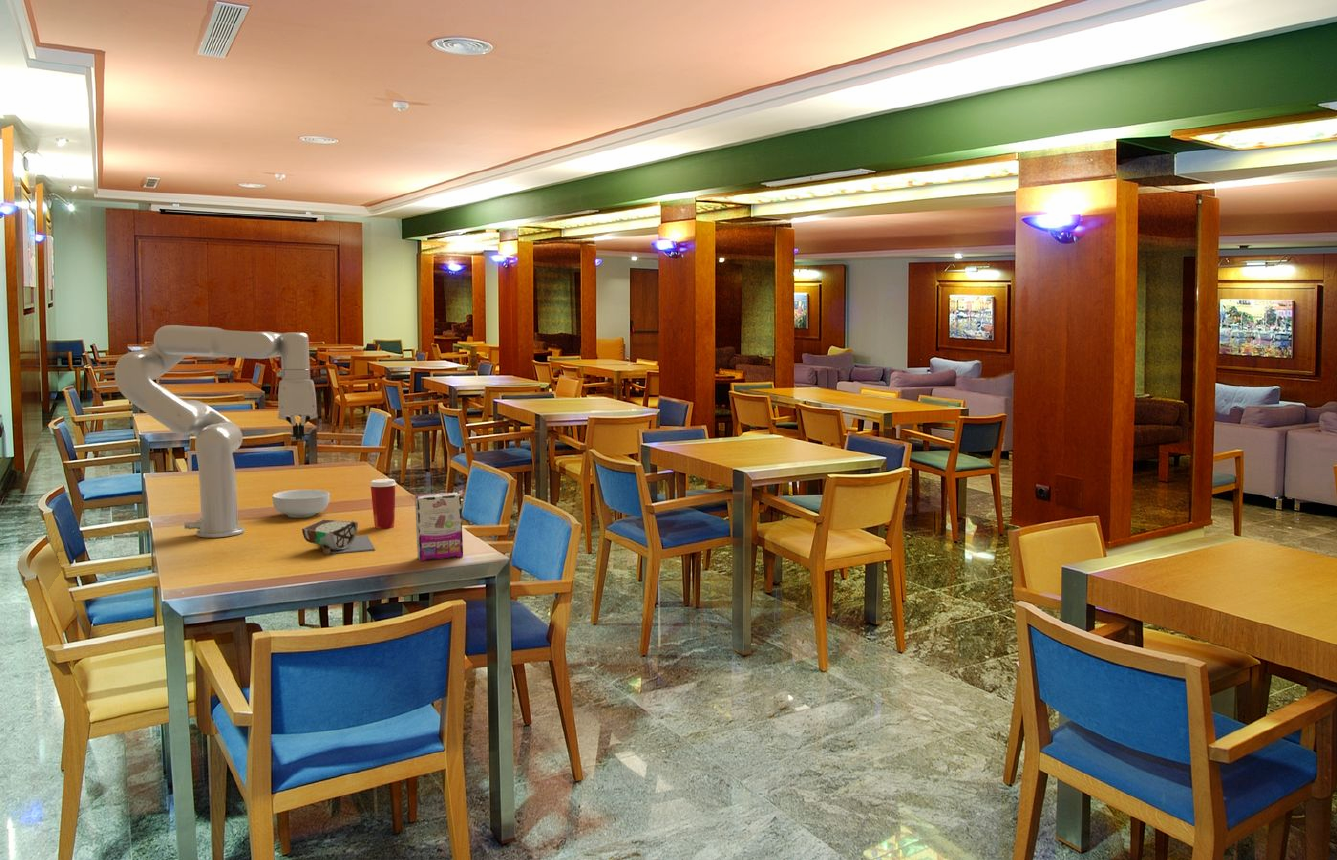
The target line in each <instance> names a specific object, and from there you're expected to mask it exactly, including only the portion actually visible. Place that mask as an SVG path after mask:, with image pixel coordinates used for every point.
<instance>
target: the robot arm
mask: <svg viewBox="0 0 1337 860" xmlns="http://www.w3.org/2000/svg"><path fill="white" fill-rule="evenodd" d="M309 341H310V340H309V335H308V334H307V333H305V332H295V331H293V332H283V333H282V332H275V331H274V332H273V331H244V330H227V329H223V328H220V327H215V326H214V327H213V326H196V325H195V326H193V325H192V326H191V325H181V324H180V325H179V324H174V325H173V324H170V325H169V324H168V325H164V326H161V327H159V328H158V329H157V330H156V332H155V333H154V335H153V343H152V344H151V345H150V346H149V347H148V348H146V349H145V350H139V351H137V350H136V351H131V352H128V353H125V354H124V355H122V356H121V357H120V358H119V359H118V360H117V362H116V364H115V367H114V380H115V384H116V387H117V389H118V391H119V392H120V394H122V396H124V397H125V398H126V399H127V400H128V401H129V402H130V403H132V404H133V405H134V406H136V407H137V408H138V409H140V410H141V411H143V412H145V413H146V414H147V415H149V416H150V417H151V418H152V419H155V420H156V421H157V422H159V423H160V424H162V425H164V426H165V427H166V428H168V429H169V430H170V431H171V432H173V433H175V434H177V435H180V436H181V435H182V436H186V435H193V436H194V437H195V440H194V441H195V442H194V451H195V455H196V460H197V466H198V467H197V468H198V481H199V498H200V519H199V520H197V519H196V521H184V529H187V530H196V529H197V530H196V532H195V534H196V535H195V536H196V537H200V538H205V539H206V538H213V539H214V538H224V537H232V536H237V535H240V534H243V533H244V532H245V527H244V526H242V525H239V516H238V515H239V514H238V513H239V512H238V496H237V495H238V494H237V479H236V478H237V477H236V474H237V473H236V466H235V460H234V455H233V453H234V452H236V451H237V450H238V449H240V447H241V445H242V444H243V440H244V439H243V438H244V437H243V433H242V431H241V428H239V426H237V425H236V423H234V422H233V421H232V420H230V419H229V418H227V417H225V416H224V415H223V414H221V413H220V412H219V411H217V410H215V409H214V408H212V407H211V406H210V405H208V404H206V403H204V402H203V401H200V400H196V399H190V400H189V399H188V400H184V399H182V398H181V397H179V396H178V395H176V394H174V393H172V392H171V391H170V390H169V389H167V388H166V387H164V386H162V385H160V384H158V383H157V382H155V381H154V380H156V379H159V378H161V377H162V376H163V375H165V374H166V373H167V372H169V371H170V370H171V369H173V368H174V367H175V366H176V365H177V364H179V363H180V362H181V361H182V360H183V359H185V358H186V357H201V358H216V359H218V358H233V359H234V358H236V359H257V360H263V359H264V360H265V359H273V358H279V357H280V358H281V359H280V360H281V370H279V371H276V377H278V378H281V380H279V383H278V391H277V392H278V397H277V399H278V403H277V404H278V405H277V406H278V408H277V409H278V415H277V419H278V420H282V421H287V422H288V423H289V424H290V425H291V426H292V436H293V437H295V440H296V441H297V440H301V441H302V440H303V437H305V425H306V424H307V423H308V422H309V421H310V420H314V419H318V416H319V415H318V412H317V411H318V410H317V408H318V407H317V398H316V397H317V395H316V387H315V383H314V380H313V379H311V369H310V368H311V366H310V365H311V363H310V345H309V343H310V342H309ZM296 416H300V421H299V422H298V423H297V421H296Z"/></svg>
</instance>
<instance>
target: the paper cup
mask: <svg viewBox="0 0 1337 860" xmlns="http://www.w3.org/2000/svg"><path fill="white" fill-rule="evenodd" d="M396 485H397V482H396V480H395V479H393V478H377V479H372V480H371V481H370V484H369V487H370V492H371V503H372V513H373V521H374V522H373V523H374V524H373V525H374V528H375V529H379V530H382V529H385V530H386V529H392V528H394V527H395V519H396V516H395V515H396V513H395V512H396Z"/></svg>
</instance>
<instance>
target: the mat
mask: <svg viewBox="0 0 1337 860" xmlns="http://www.w3.org/2000/svg"><path fill="white" fill-rule="evenodd" d="M371 551H376V548H375V547H374V545H373V542H372V541H371V540H370V538H369V536H368V535H361V536H355V539H354V541H353V542H352V544H351V545H350V546H349V547H347V548H345V549H343V550H333V549H331V548H330V555H337V554H338V555H339V554H348V553H349V554H351V553H358V552H359V553H361V552H371Z"/></svg>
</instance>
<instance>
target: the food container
mask: <svg viewBox="0 0 1337 860" xmlns="http://www.w3.org/2000/svg"><path fill="white" fill-rule="evenodd" d="M358 525H359V522H358V521H353V520H351V521H348V520H346V521H345V520H336V519H321V520H319V521H317V522H313V523H312V524H310V525H308V526H306V527H303V528H301V531H302V535H303V538H304V540H305V541H306V542H307V543H310V544H315V545H320V546H321V545H324V546H329V547H330V548H331V549H333V550H343V549H345V548H347V547H349V546H350V545H351V544H352V542H353V541H354V539H355V537H357V533H358V528H359V527H358Z"/></svg>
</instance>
